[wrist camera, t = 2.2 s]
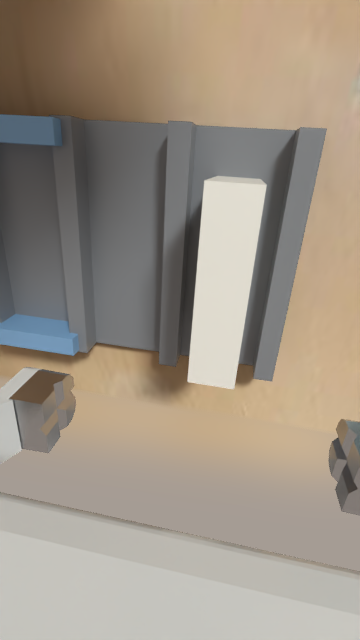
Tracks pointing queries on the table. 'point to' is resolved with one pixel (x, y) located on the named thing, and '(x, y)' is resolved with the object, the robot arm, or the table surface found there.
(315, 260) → the table surface
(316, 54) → the table surface
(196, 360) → the plug block
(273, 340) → the board
